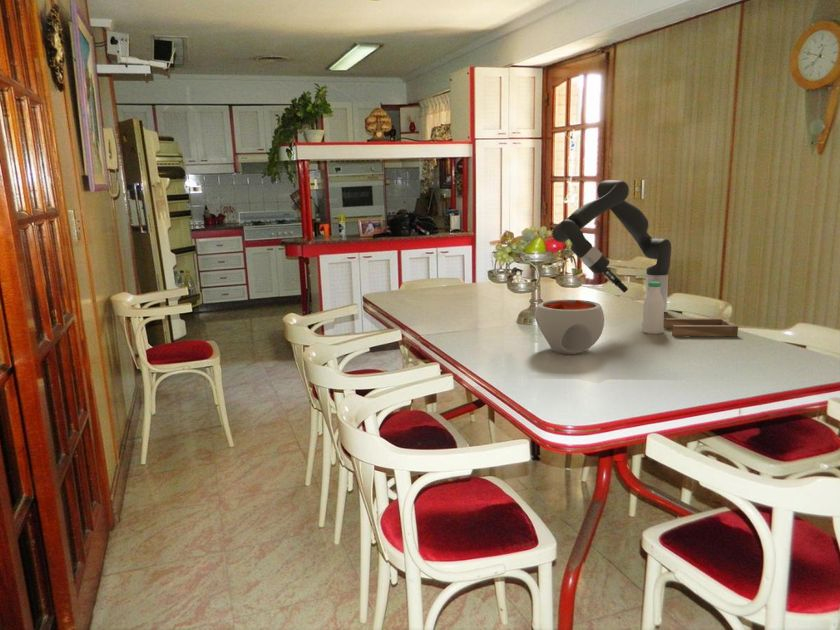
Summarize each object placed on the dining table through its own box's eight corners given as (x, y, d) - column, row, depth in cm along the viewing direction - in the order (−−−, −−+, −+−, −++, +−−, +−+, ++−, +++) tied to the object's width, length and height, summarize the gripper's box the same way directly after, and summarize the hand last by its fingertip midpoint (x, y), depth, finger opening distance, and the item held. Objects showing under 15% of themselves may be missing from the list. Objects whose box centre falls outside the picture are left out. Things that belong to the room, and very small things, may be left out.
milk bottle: (664, 334, 243) (667, 283, 240) (643, 334, 245) (645, 283, 241) (661, 330, 251) (663, 280, 247) (641, 330, 252) (642, 280, 248)
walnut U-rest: (664, 328, 254) (664, 318, 254) (724, 328, 251) (725, 318, 250) (673, 336, 240) (673, 326, 239) (737, 336, 236) (738, 326, 236)
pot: (616, 349, 224) (617, 300, 220) (580, 364, 207) (581, 311, 204) (557, 340, 241) (558, 294, 237) (520, 352, 224) (520, 303, 220)
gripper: (603, 254, 238) (636, 286, 239) (599, 251, 251) (630, 281, 252) (589, 269, 240) (621, 300, 241) (585, 264, 253) (616, 294, 254)
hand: (626, 290), depth 246 cm, fingers closed
